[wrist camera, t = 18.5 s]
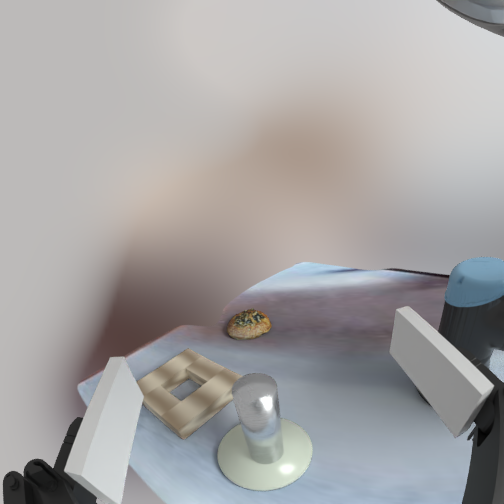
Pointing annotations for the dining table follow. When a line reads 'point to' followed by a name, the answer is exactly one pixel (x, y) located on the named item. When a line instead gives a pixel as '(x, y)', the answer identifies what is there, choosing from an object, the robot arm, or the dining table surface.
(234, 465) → the coaster
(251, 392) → the canister
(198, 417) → the holder block
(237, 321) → the bread roll
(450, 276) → the robot arm
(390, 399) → the dining table surface
